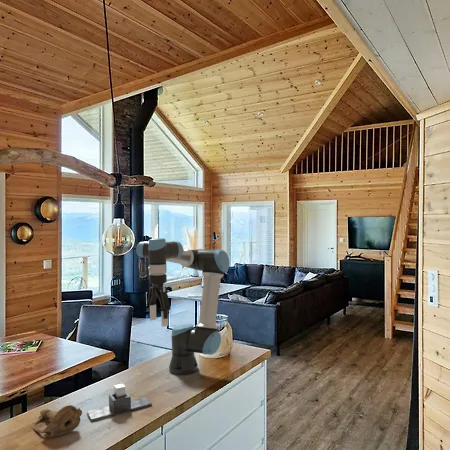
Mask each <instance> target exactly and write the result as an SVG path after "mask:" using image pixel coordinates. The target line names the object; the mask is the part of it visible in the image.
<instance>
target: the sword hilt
mask: <svg viewBox="0 0 450 450" xmlns="http://www.w3.org/2000/svg"><path fill="white" fill-rule="evenodd" d="M39 414H40V415H39V416H38V420H36V422H35V423H34V424H33V426H32V428H33V430H34V431H36V432H37V433H39V434H43V437H44V438H46V437H47V438H50V437H51V438H54V437H61V436H64V435H66V434H69V433H71V432H72V431H74V430H76V428H78V426H79V425H80V423H81V416H82V414H83V410H81V408H80V407H78V408H77V407H76V406H74V405H69V404H68V405H65V406H63V407H62V408H61V409H59V410H58V411H52V410H51V409H49V408H45V409H43V410H41V411H40V413H39ZM47 418H48V419H49V420H50V422H49V424H48V425H47V426H46V427H45V428H44V429H43V430H41V429H39V428H38V427H36V426H37V424H38V423H39V422H41V421H42V420H43V419H47Z"/></svg>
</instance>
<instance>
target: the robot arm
mask: <svg viewBox="0 0 450 450" xmlns="http://www.w3.org/2000/svg"><path fill="white" fill-rule="evenodd" d="M135 252H136V254H137V256H138V257H140V258H142V259H143V258H144V259H147V258H148V267H147V269H148V274H149V276H148V283H149V291H148V297H147V303H148V305H149V321H155V320H157V299H158V300H159V303H160V308H161V310H160V313H161V316H160V317H161V321H160V322H161V327H162V328H163V327H168V326H169V311H170V310H171V306H170V300H169V299H170V298H169V294H168V288H167V286H164V284H166V283H167V282H168V281H167V277H168V275H167V270H168V269H167V262H170V263H173V264H179V265H181V266H182V267H183V268H184V267H185V268H188V269H193V270H197V271H200V272H201V271H202V273H201V274H202V275H203V278H204V279H203V287H202V295H201V303H200V311H199V320H198V323H197V324H196V325H195V326H194V325H193V324H182V325H181V324H180V325H177V326H175V327H173V328H171V358H170V362H169V365H168V371H169V372H170V373H171V374H174V375H189V374H193V373H195V372H197V371H198V369H199V367H198V362H197V359H196V356H195V354H196V353H197V354H202V355H214V354H216V352H217V351H218V350H219V349H220V346H221V343H222V336H221V333H220V332H219V331H218V326H217V325H216V322H217V321H216V320H217V312H218V305H219V304H218V303H219V296H220V295H219V294H220V288H221V287H220V286H221V279H222V278H224V275H225V273H226V272H228V271H229V269H230V258H229V256H228V253H227V252H226V251H225V250H223V249H217V248H216V249H204V248H203V249H188V248H185V249H184V246H183V244H182V243H181V242H180V241H175V240H174V241H173V240H172V241H167V240H166V238H150V239H149V240H148V241H140V242H138V244H137V245H136V249H135Z"/></svg>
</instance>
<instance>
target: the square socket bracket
mask: <svg viewBox="0 0 450 450" xmlns="http://www.w3.org/2000/svg"><path fill="white" fill-rule="evenodd" d="M152 406H153V404H152V402H151V401H150V400H149V399H148V398H147V396H142V397H139V398H136V399H135V398H134V399H132V396H131V395H130V394H129V392H127V390H126V389H125V397H122V398H118V399H115V398H114V392H113V393H110V394H108V405H107V406H103V407H99V408H98V407H97V408H95V409H91V410H87V411H86V415H87V417H88V418H89V420H90V422H92V423H93V422H95V421H99V420H103V419H107V418H110V417H114V416H116V415H120V414H124V413H128V412H133V411H137V410H141V409H145V408H149V407H152Z"/></svg>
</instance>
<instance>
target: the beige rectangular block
mask: <svg viewBox="0 0 450 450" xmlns="http://www.w3.org/2000/svg"><path fill="white" fill-rule="evenodd" d="M113 390H114V392H113V393H114V398H115V399H118V398H122V397H125V390H126V386H125V384H124V383H120V384H116V385H115V384H114V385H113Z"/></svg>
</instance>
